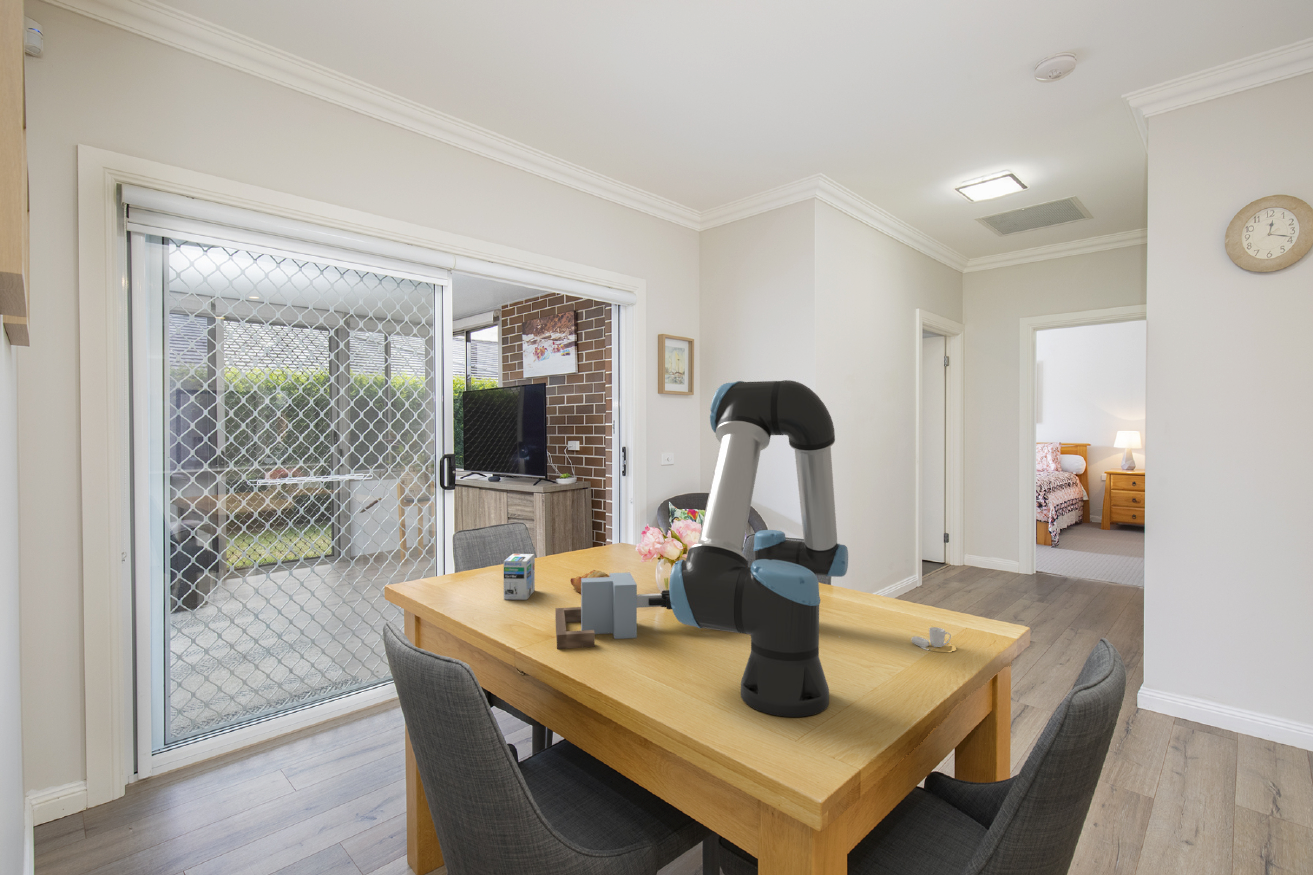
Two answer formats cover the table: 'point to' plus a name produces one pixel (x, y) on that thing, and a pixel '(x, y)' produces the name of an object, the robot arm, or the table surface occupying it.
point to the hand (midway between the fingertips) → (634, 601)
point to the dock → (571, 637)
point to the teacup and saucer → (932, 638)
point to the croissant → (593, 574)
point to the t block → (610, 605)
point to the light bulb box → (519, 576)
